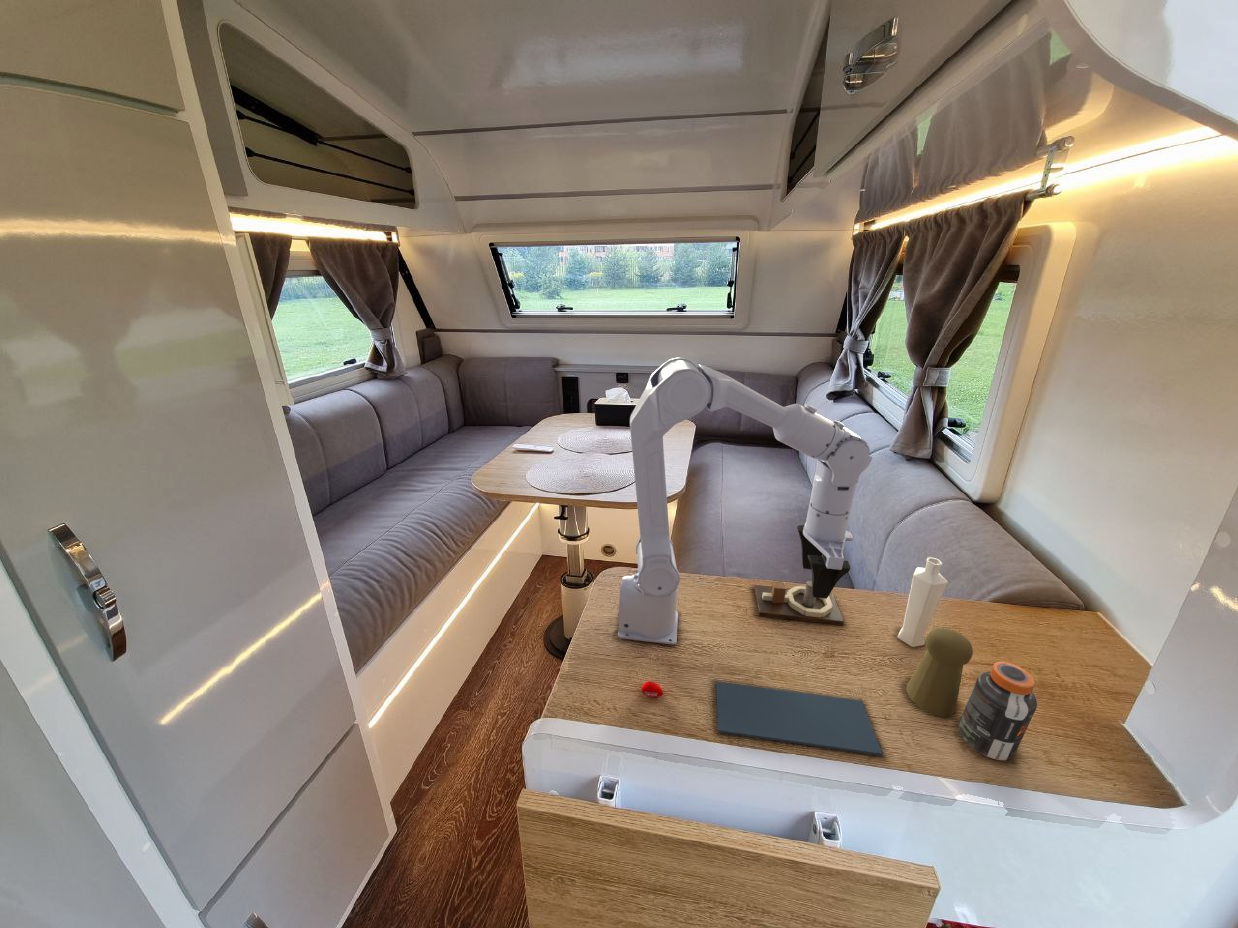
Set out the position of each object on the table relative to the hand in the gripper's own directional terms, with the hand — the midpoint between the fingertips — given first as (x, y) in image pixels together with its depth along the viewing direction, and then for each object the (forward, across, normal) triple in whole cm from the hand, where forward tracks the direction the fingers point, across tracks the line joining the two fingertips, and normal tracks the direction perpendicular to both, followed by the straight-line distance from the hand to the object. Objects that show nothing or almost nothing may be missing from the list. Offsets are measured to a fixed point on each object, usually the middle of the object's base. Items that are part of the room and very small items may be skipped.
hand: (814, 581), depth 76 cm
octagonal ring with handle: (+9, +6, 0) cm, 10 cm away
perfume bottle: (+10, 0, -17) cm, 19 cm away
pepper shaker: (+10, -12, -15) cm, 21 cm away
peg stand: (+9, +6, 0) cm, 11 cm away
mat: (+9, -18, +5) cm, 21 cm away
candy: (+10, -18, +24) cm, 32 cm away
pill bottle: (+10, -18, -19) cm, 28 cm away
